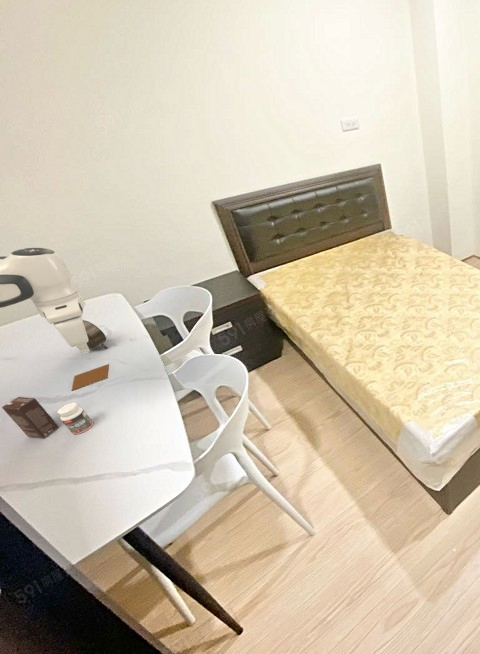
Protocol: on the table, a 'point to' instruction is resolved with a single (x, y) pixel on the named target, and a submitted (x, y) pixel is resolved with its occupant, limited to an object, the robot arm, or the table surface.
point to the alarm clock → (94, 335)
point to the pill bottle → (75, 418)
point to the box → (30, 417)
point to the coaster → (90, 377)
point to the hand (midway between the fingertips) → (83, 346)
